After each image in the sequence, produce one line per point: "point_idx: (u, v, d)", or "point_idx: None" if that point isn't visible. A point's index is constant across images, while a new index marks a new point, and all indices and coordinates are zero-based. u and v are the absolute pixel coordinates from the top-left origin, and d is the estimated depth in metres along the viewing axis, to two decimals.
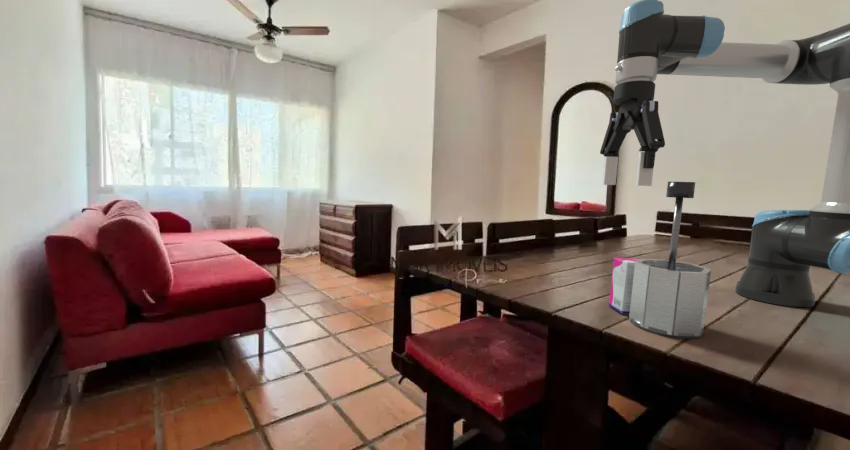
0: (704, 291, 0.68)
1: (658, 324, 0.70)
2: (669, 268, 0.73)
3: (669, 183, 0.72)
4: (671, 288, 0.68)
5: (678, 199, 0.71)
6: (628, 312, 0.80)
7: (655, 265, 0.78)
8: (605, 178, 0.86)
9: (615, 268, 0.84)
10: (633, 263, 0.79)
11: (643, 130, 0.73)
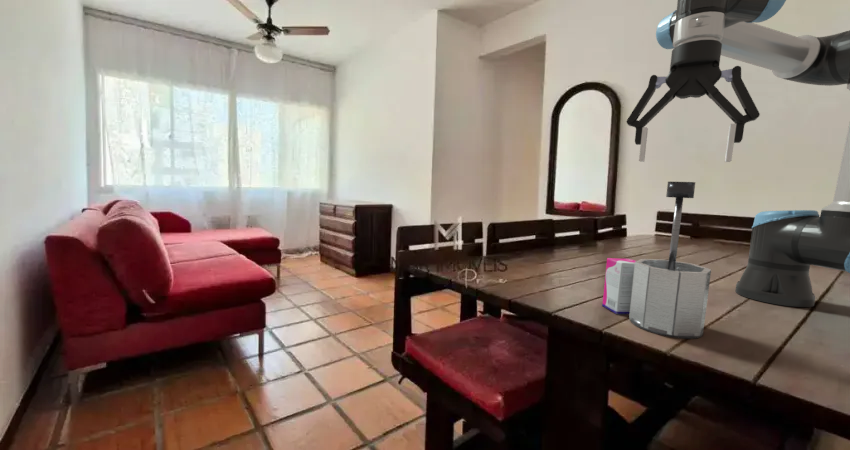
0: (704, 291, 0.68)
1: (658, 324, 0.70)
2: (669, 268, 0.73)
3: (669, 183, 0.72)
4: (671, 288, 0.68)
5: (678, 199, 0.71)
6: (623, 312, 0.81)
7: (655, 265, 0.78)
8: (643, 153, 0.73)
9: (608, 268, 0.84)
10: (627, 263, 0.80)
11: None
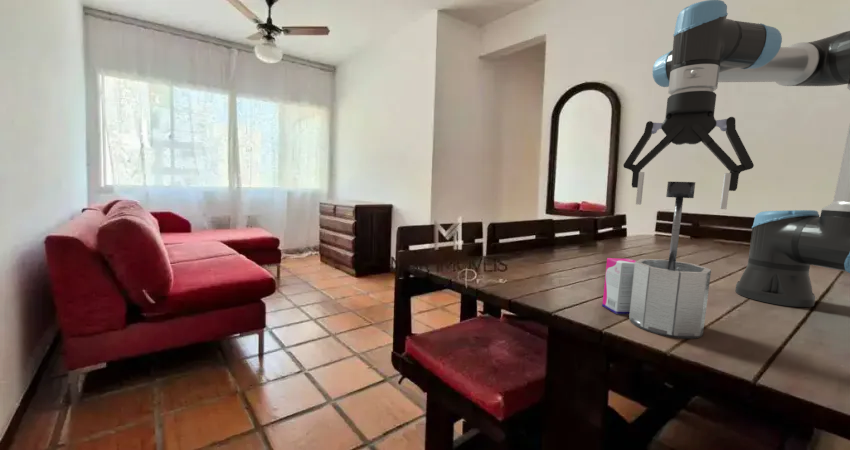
0: (704, 291, 0.68)
1: (658, 324, 0.70)
2: (669, 268, 0.73)
3: (669, 183, 0.72)
4: (671, 288, 0.68)
5: (678, 199, 0.71)
6: (622, 312, 0.81)
7: (655, 265, 0.78)
8: (640, 197, 0.74)
9: (608, 268, 0.84)
10: (627, 263, 0.80)
11: (721, 149, 0.67)
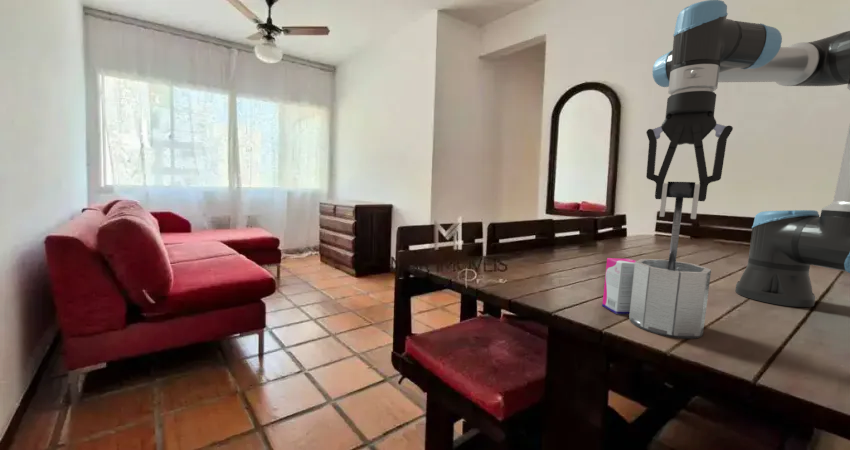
0: (704, 291, 0.68)
1: (658, 324, 0.70)
2: (669, 268, 0.73)
3: (669, 183, 0.72)
4: (671, 288, 0.68)
5: (678, 199, 0.71)
6: (622, 312, 0.81)
7: (655, 265, 0.78)
8: (664, 209, 0.72)
9: (608, 268, 0.84)
10: (627, 263, 0.80)
11: None
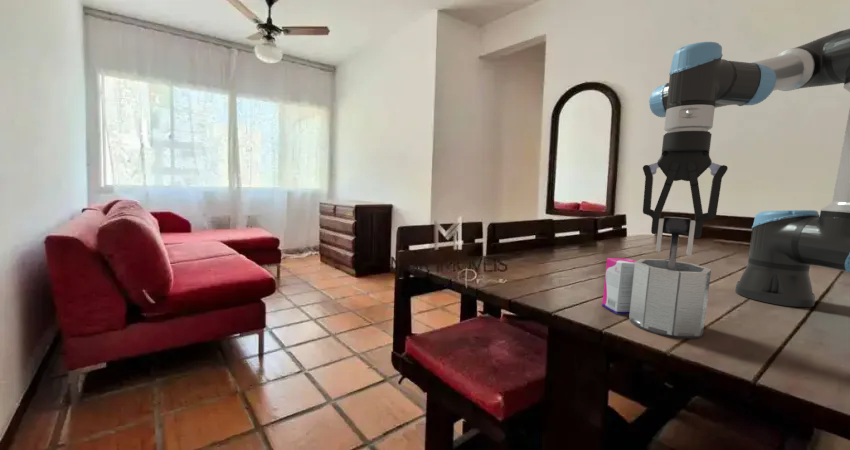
0: (704, 291, 0.68)
1: (658, 324, 0.70)
2: None
3: (665, 219, 0.72)
4: (671, 288, 0.68)
5: (674, 235, 0.72)
6: (622, 312, 0.81)
7: (655, 265, 0.78)
8: (660, 244, 0.73)
9: (608, 268, 0.84)
10: (627, 263, 0.80)
11: (699, 194, 0.70)
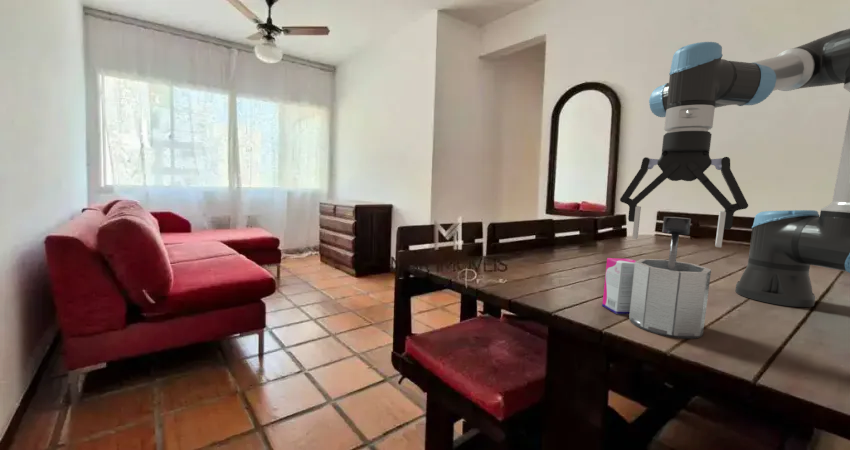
0: (704, 291, 0.68)
1: (658, 324, 0.70)
2: None
3: (665, 219, 0.72)
4: (671, 288, 0.68)
5: (674, 235, 0.72)
6: (622, 312, 0.81)
7: (655, 265, 0.78)
8: (637, 231, 0.75)
9: (608, 268, 0.84)
10: (627, 263, 0.80)
11: None
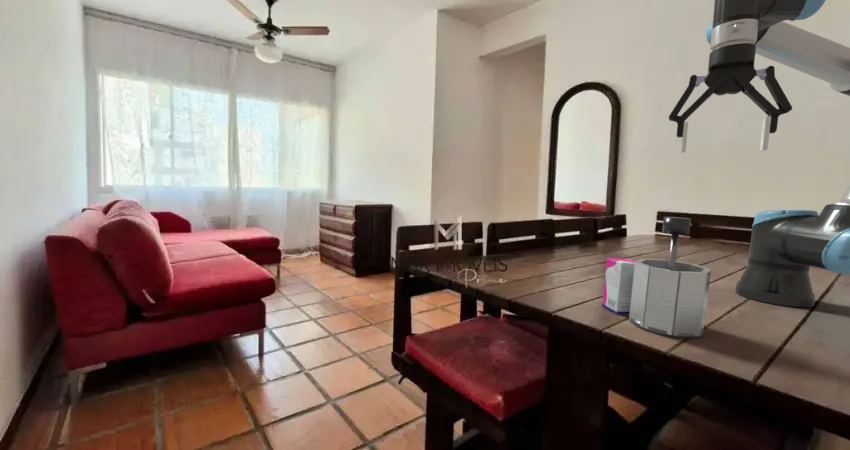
0: (704, 291, 0.68)
1: (658, 324, 0.70)
2: None
3: (665, 219, 0.72)
4: (671, 288, 0.68)
5: (674, 235, 0.72)
6: (622, 312, 0.81)
7: (655, 265, 0.78)
8: (685, 145, 0.82)
9: (608, 268, 0.84)
10: (627, 263, 0.80)
11: None
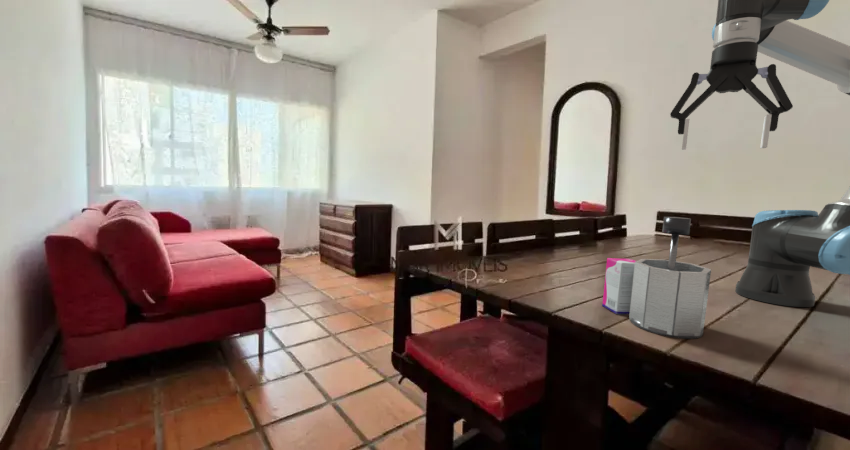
0: (704, 291, 0.68)
1: (658, 324, 0.70)
2: None
3: (665, 219, 0.72)
4: (671, 288, 0.68)
5: (674, 235, 0.72)
6: (622, 312, 0.81)
7: (655, 265, 0.78)
8: (686, 142, 0.83)
9: (608, 268, 0.84)
10: (627, 263, 0.80)
11: None
